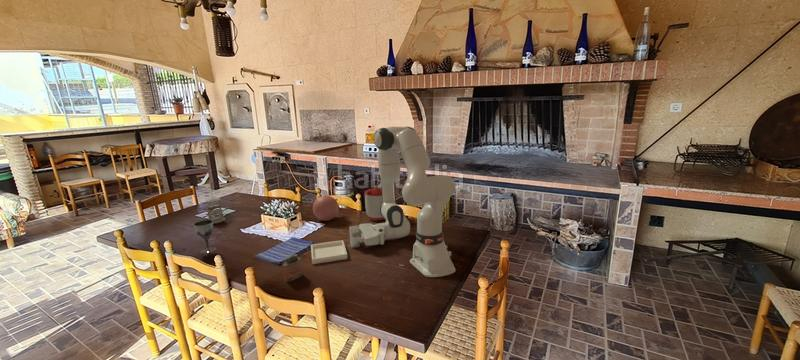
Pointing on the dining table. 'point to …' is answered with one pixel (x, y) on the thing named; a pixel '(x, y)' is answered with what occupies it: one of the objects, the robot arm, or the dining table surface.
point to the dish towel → (285, 250)
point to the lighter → (292, 268)
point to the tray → (328, 252)
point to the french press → (217, 215)
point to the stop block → (354, 233)
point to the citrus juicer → (373, 203)
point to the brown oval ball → (325, 208)
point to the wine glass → (205, 233)
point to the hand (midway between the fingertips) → (352, 235)
